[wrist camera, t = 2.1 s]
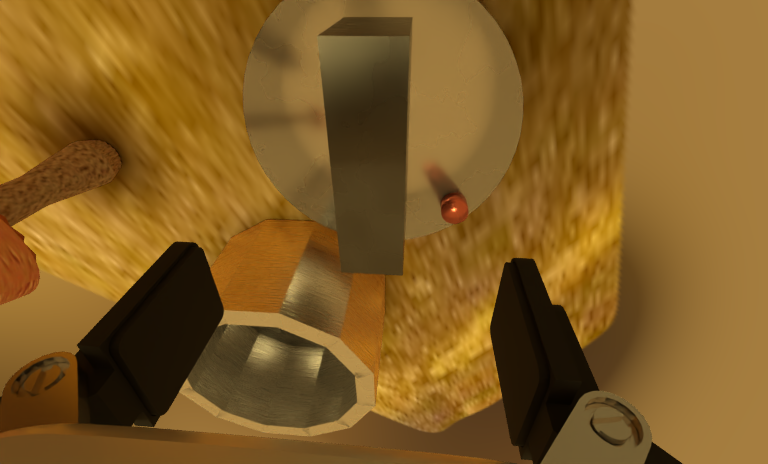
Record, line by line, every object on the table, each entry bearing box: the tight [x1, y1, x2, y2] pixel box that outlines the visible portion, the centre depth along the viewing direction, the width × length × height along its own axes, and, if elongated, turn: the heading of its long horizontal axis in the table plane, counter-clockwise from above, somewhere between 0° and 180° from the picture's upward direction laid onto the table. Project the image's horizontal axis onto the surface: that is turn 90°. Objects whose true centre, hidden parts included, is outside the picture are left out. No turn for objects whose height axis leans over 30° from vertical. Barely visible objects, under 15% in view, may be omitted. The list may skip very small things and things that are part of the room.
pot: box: [179, 219, 385, 436], centre depth 28 cm, size 14×14×9 cm
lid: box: [243, 0, 523, 275], centre depth 19 cm, size 15×15×8 cm
